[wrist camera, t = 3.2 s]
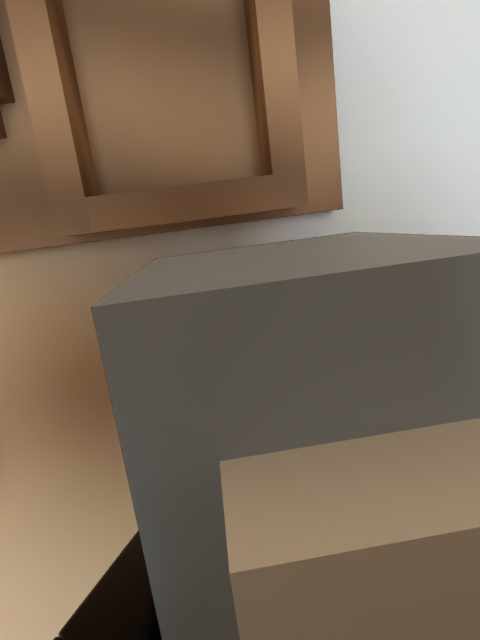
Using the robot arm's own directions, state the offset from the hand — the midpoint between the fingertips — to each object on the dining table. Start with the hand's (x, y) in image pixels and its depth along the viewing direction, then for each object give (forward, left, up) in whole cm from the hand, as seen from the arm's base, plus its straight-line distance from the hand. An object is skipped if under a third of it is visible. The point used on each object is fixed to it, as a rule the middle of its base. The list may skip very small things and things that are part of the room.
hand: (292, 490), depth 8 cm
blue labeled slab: (0, 0, -1) cm, 1 cm away
